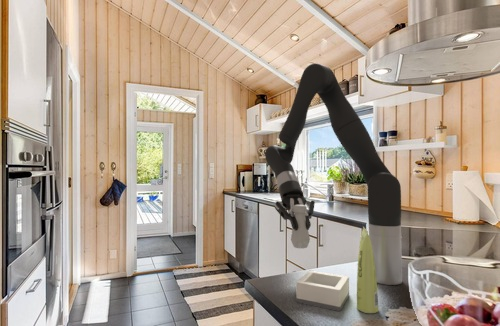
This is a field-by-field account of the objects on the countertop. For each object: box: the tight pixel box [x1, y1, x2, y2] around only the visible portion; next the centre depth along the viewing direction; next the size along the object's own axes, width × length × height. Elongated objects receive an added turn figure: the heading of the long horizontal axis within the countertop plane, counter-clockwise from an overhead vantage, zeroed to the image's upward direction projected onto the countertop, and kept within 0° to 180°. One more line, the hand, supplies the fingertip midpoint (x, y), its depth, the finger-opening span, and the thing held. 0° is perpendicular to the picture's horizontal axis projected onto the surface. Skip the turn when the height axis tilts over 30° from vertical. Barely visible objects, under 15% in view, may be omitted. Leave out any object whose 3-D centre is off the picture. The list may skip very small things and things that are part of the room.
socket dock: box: [295, 270, 350, 312], centre depth 80 cm, size 11×11×5 cm
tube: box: [356, 226, 379, 314], centre depth 74 cm, size 6×5×20 cm
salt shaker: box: [290, 204, 311, 249], centre depth 95 cm, size 6×6×13 cm
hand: (302, 228), depth 93 cm, fingers closed on salt shaker, 3 cm apart
